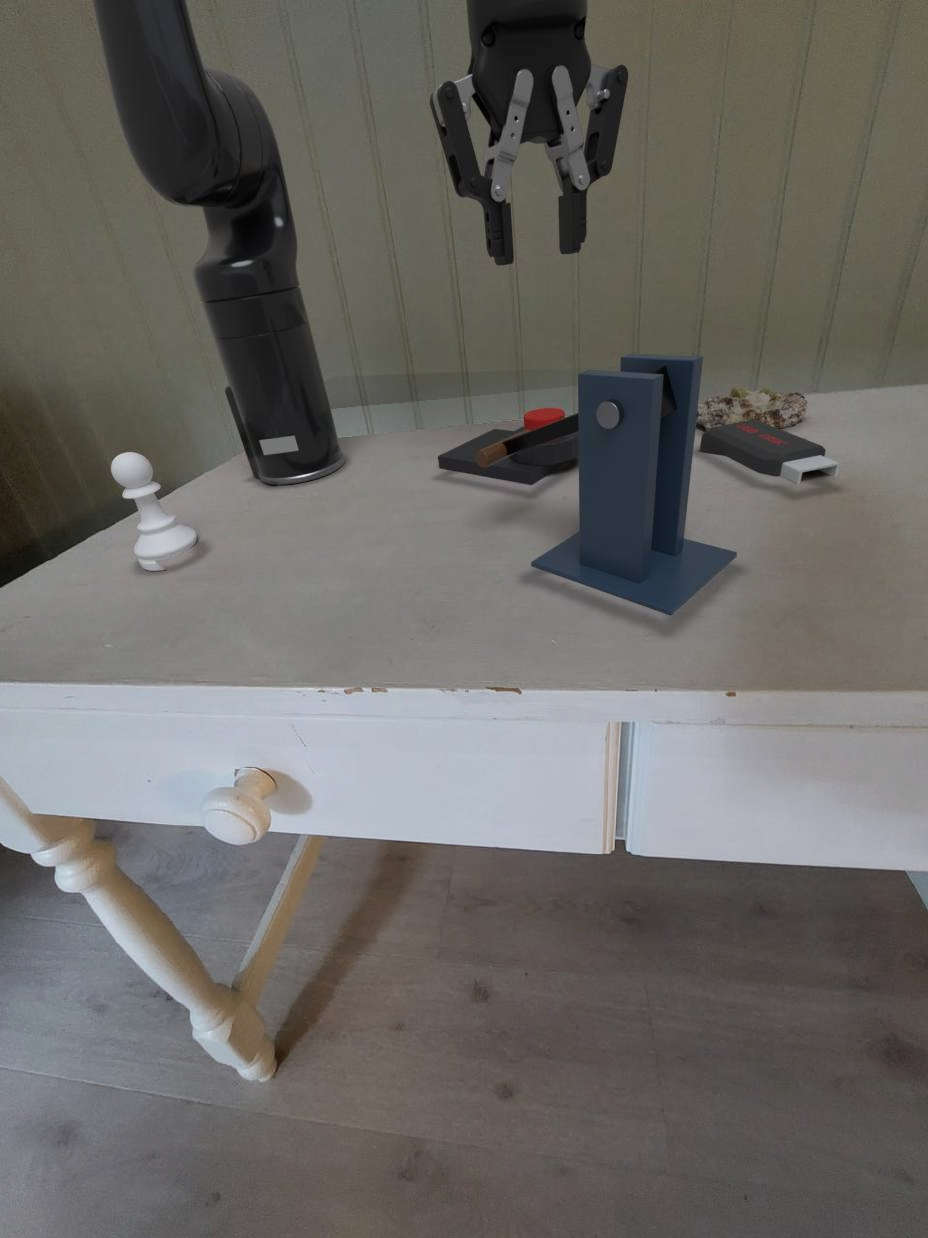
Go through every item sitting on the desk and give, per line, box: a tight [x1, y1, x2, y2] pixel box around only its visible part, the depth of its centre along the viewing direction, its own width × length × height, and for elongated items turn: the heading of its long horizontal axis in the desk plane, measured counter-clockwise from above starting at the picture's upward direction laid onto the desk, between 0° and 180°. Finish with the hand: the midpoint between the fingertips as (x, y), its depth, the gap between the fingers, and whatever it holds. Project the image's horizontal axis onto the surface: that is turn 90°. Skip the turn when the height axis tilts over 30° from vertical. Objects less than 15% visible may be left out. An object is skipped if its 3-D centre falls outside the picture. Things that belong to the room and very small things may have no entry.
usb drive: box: [699, 420, 841, 485], centre depth 48 cm, size 5×12×3 cm, turn 11°
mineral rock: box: [696, 385, 808, 432], centre depth 57 cm, size 11×4×8 cm
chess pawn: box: [110, 451, 198, 572], centre depth 46 cm, size 5×5×9 cm
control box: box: [437, 426, 579, 486], centre depth 54 cm, size 13×9×4 cm
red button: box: [523, 407, 566, 431], centre depth 50 cm, size 4×4×2 cm
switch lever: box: [475, 365, 677, 468], centre depth 35 cm, size 13×5×2 cm, turn 45°
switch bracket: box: [530, 353, 738, 616], centre depth 33 cm, size 10×8×13 cm
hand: (537, 257), depth 43 cm, fingers open, 5 cm apart
